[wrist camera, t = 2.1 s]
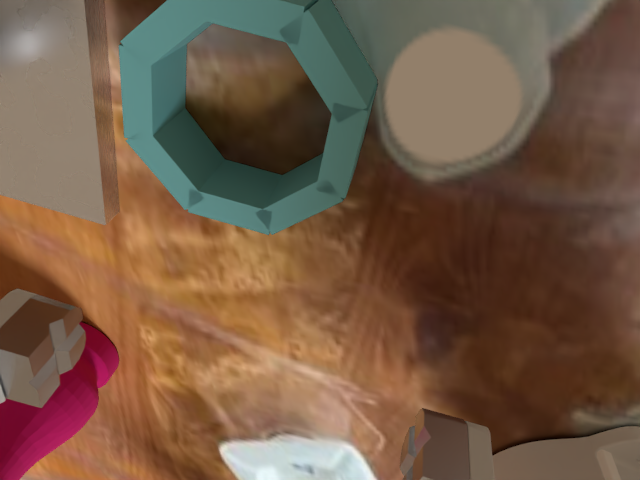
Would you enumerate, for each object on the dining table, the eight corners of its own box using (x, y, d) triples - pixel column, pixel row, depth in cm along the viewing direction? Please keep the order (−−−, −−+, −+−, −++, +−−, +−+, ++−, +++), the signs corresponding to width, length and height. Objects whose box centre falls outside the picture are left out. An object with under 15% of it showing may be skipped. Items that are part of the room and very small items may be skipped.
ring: (397, 9, 21) (389, 28, 18) (343, 214, 27) (331, 252, 24) (157, -52, 21) (113, -43, 18) (160, 163, 28) (127, 194, 25)
